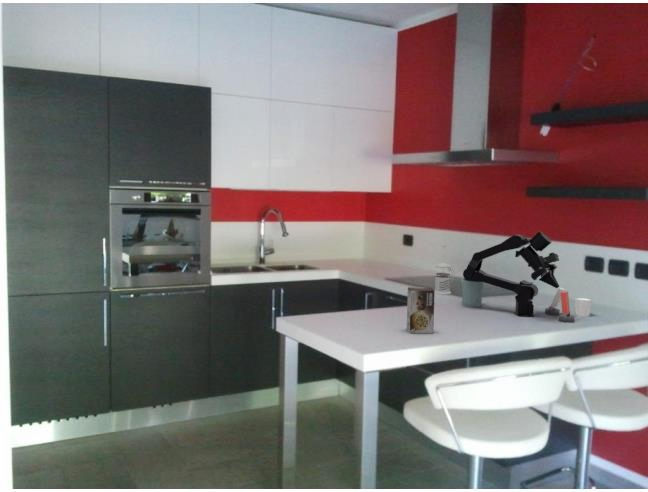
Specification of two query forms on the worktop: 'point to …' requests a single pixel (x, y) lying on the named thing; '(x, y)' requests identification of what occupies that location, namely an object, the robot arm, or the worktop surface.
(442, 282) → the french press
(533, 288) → the robot arm
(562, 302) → the block
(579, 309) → the shot glass
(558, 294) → the block
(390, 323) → the worktop surface
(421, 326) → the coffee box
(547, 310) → the grey switch base
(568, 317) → the dark rounded piece
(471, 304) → the grey green cup
